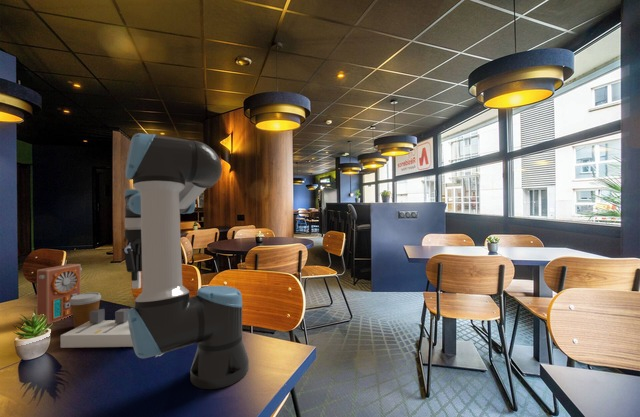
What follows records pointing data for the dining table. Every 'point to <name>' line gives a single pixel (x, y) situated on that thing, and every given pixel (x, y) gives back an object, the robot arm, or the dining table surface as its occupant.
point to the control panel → (57, 290)
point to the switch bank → (98, 335)
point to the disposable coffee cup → (84, 307)
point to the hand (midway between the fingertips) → (136, 288)
